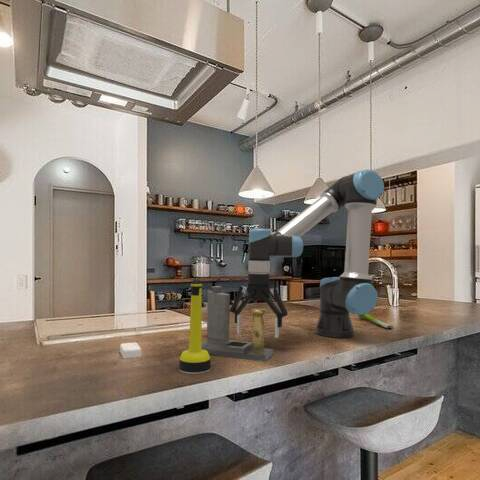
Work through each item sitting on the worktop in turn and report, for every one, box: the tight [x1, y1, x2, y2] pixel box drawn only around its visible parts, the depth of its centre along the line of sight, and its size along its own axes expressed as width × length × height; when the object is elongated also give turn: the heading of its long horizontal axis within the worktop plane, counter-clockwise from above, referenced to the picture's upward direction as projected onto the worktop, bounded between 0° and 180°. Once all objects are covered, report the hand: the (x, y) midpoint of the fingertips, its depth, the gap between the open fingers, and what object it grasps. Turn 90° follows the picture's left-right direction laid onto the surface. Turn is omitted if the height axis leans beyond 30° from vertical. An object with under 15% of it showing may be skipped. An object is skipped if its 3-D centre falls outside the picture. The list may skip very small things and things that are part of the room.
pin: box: [250, 308, 267, 348], centre depth 123 cm, size 5×5×13 cm
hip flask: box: [206, 285, 231, 340], centre depth 134 cm, size 16×4×20 cm, turn 28°
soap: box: [119, 342, 142, 360], centre depth 113 cm, size 9×6×3 cm, turn 25°
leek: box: [356, 313, 395, 330], centre depth 172 cm, size 6×7×30 cm
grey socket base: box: [202, 338, 274, 362], centre depth 115 cm, size 22×9×3 cm, turn 69°
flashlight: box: [178, 278, 212, 375], centre depth 100 cm, size 25×9×9 cm
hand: (257, 335), depth 123 cm, fingers open, 13 cm apart
